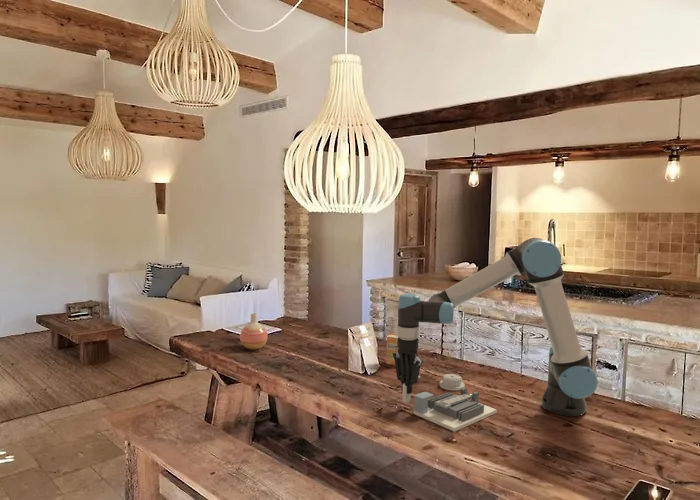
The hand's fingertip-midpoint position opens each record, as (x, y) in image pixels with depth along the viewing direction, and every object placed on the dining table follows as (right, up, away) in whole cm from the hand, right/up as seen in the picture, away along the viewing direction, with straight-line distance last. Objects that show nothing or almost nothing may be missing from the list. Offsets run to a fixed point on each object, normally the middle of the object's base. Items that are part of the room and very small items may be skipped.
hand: (406, 401), depth 183 cm
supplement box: (+1, +2, +51) cm, 51 cm away
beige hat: (+21, -1, +23) cm, 31 cm away
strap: (+17, +1, -4) cm, 18 cm away
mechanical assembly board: (+17, -3, -4) cm, 18 cm away
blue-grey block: (+6, -2, -4) cm, 7 cm away
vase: (-69, +5, +73) cm, 100 cm away
